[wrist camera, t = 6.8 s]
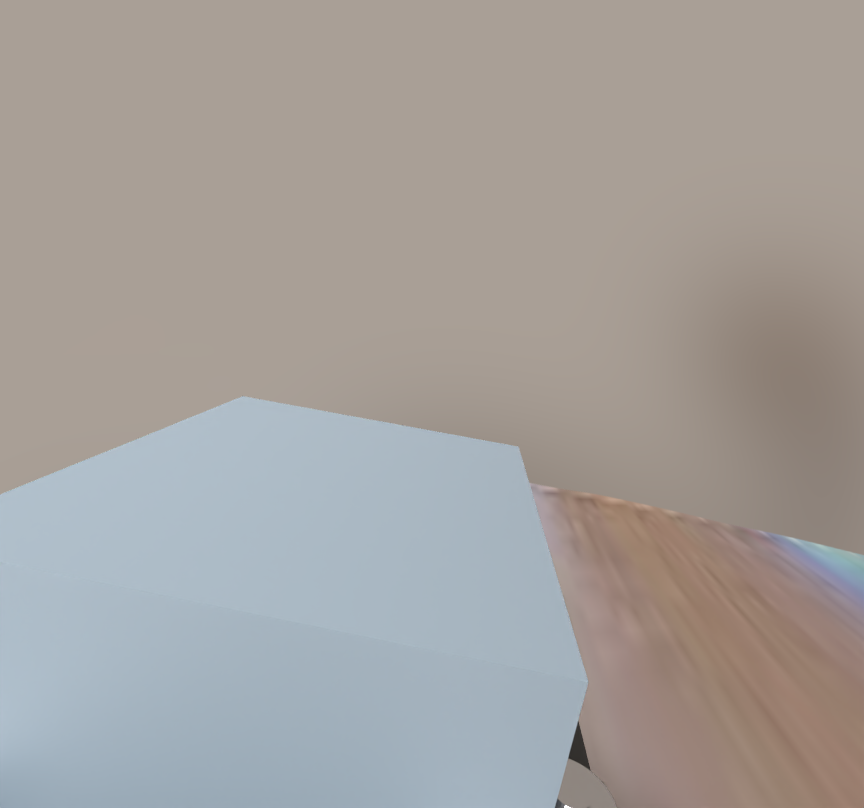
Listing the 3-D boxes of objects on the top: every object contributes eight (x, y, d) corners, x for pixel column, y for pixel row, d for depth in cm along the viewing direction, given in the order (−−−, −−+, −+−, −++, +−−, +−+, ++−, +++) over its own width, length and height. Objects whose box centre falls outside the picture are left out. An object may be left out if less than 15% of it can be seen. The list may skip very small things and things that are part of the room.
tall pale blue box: (209, 762, 13) (242, 396, 11) (441, 813, 13) (518, 446, 11) (-66, 1241, 7) (-112, 538, 4) (403, 1370, 6) (588, 682, 4)
